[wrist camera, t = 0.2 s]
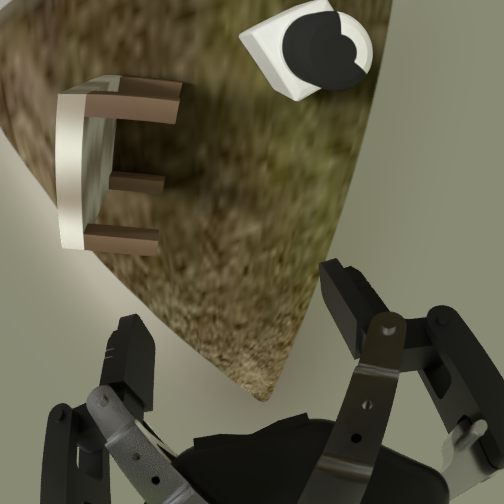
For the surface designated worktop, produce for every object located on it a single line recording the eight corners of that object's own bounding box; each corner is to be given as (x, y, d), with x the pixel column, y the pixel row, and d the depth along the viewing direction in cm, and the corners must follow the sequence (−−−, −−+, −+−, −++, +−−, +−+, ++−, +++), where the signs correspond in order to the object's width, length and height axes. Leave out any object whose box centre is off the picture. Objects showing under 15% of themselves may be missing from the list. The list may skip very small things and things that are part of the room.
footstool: (104, 74, 23) (58, 94, 14) (182, 81, 25) (179, 101, 16) (94, 181, 30) (62, 247, 20) (163, 188, 32) (156, 256, 23)
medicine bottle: (273, 90, 28) (320, 117, 19) (236, 35, 23) (267, 28, 14) (329, 60, 26) (397, 76, 17) (297, 5, 22) (357, -10, 13)
